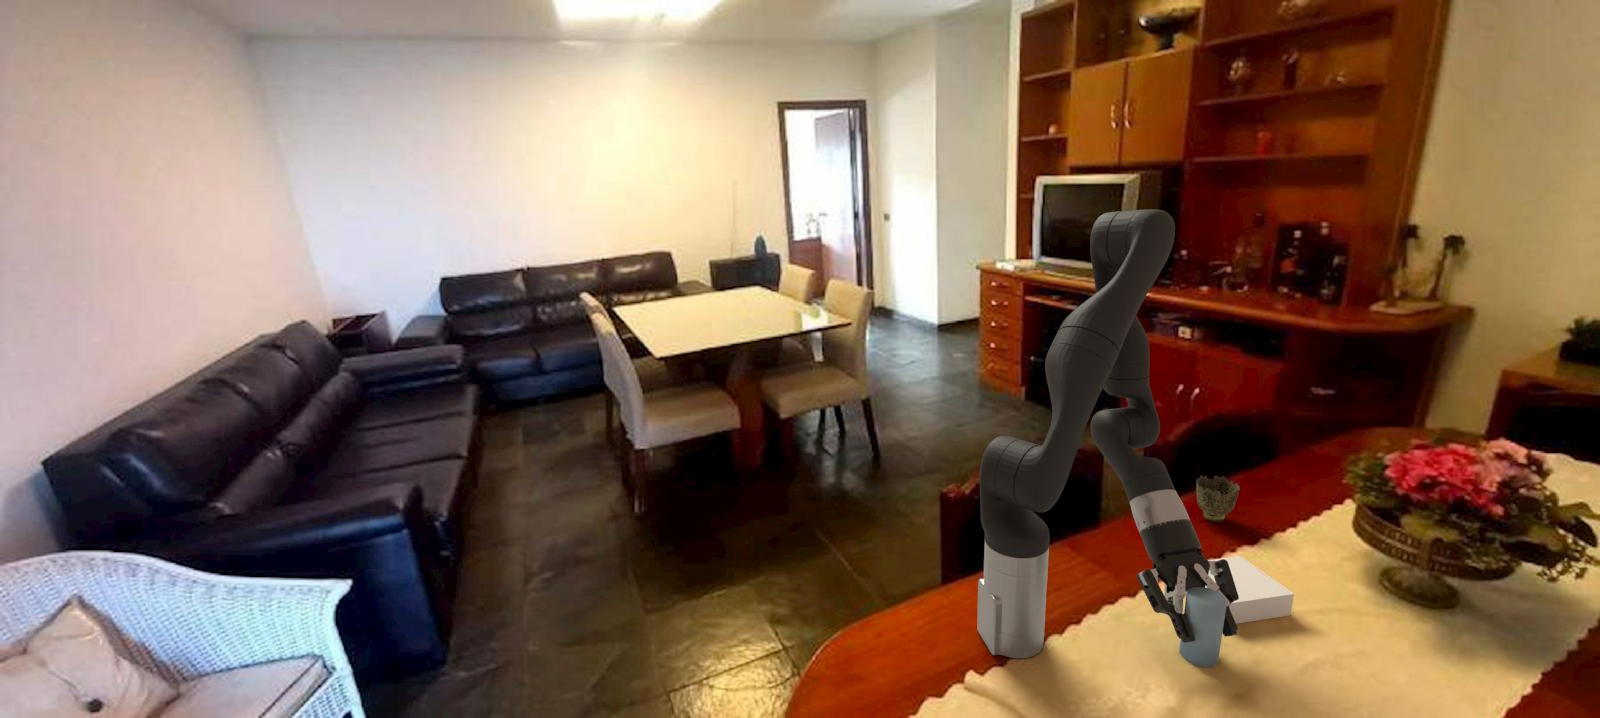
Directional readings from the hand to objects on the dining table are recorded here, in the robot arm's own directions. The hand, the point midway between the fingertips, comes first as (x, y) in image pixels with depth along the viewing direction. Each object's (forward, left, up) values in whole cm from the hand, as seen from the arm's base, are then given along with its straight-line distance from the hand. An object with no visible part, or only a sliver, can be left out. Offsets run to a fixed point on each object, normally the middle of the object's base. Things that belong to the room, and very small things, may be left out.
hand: (1210, 638), depth 96 cm
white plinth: (+14, +12, -4) cm, 19 cm away
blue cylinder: (0, +2, -4) cm, 5 cm away
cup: (+30, +36, -4) cm, 47 cm away
